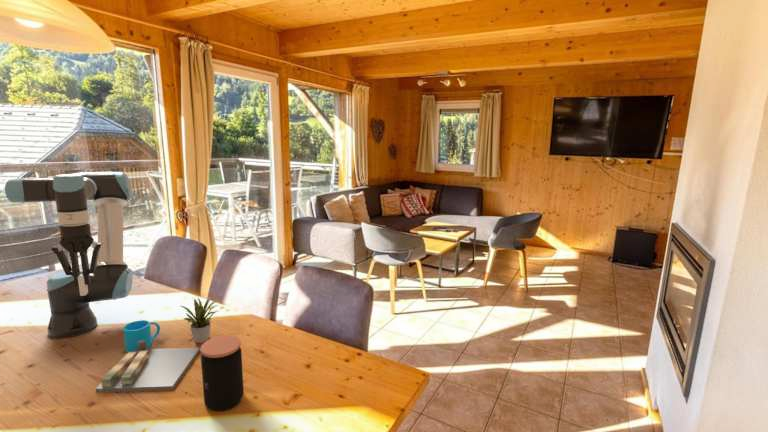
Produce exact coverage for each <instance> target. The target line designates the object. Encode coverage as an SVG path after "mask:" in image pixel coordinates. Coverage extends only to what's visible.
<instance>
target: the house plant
mask: <svg viewBox="0 0 768 432" xmlns="http://www.w3.org/2000/svg"><path fill="white" fill-rule="evenodd" d="M211 297H212V296H209V297H208V298H207V299H206V300H205V303H204V305H203V302H201V299H200V298H199V297H197V299H196V298H194V299H193V305H194V313H193V312H192V311H191V310H190V309H189V308H188V307H186V306H184V305H180V307H181V308H183V309H184V310H186V312H187V313H185V315H186V316H187V317H185V318H183V320H185V321H187V324H188V323H191V324H190V325H189V328H190V332H191V334H192V338H193V342H194V343H197V344H198V343H200V344H203V343H204V342H206V341H208V340H209V339H210V336H211V335H210V333H211V325H212V322H211V320H212V316H213V315H214V314H215V313H216V314H217V312H220V310H215V311H212V310H213V308H216V307H217V306H219V304H218V305H217V304H215V303H216V302H219V301H220V299H217V300H214V301H212V302H211V303H210V304H209V302H210V301H211V300H210V299H211ZM197 300H198V302H197ZM214 304H215V305H214ZM212 305H213V306H212ZM211 306H212V307H211ZM208 310H209V311H208ZM210 314H211V315H210ZM208 316H209V317H208Z"/></svg>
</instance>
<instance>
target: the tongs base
mask: <svg viewBox="0 0 768 432" xmlns="http://www.w3.org/2000/svg"><path fill="white" fill-rule="evenodd" d="M147 349H148V348H147ZM147 349H146V341H145V340H141V341H138V352H128V351H127V352H128V353H126V354H125V355H124V356H123V357H122V358H121V359H120V360H119V361H118V362H117V363H116V364H115V365H114V366H113V367H112V368H111V369H110V370H109V371H107V373H106V374H105V375H104V376H103V377H102V378H101V380H100V381H101V383H102V387H106V386H112V385H113V384H114V383H115V382H116V381H117V379H118V378H119V377H120V376H121V375H122V374H123V373H124V372H125V371H126V370H127V368H128V367H129V366H130V364H131V363H132V361H133V360H134V358H135V357H136V356H137V354H138V353H139V351H146V350H147ZM149 353H150V350H148V354H149Z"/></svg>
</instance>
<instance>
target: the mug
mask: <svg viewBox="0 0 768 432" xmlns="http://www.w3.org/2000/svg"><path fill="white" fill-rule="evenodd" d="M151 325H152V326H153V325H154V326H155V327H156V331H155V333H154V335H152V331H151ZM122 329H123V336H124V337H123V338H124V345H125V351H126V352H133V351H134V350H135V349H138V341H141V340H145V341H146V349H149V348H150V347H151V346H152V344H153V340H154V339H155V338H156V337H157V336H158V335H159V333H160V331H161V326H160V324H158V322H154V321H151V322H150V321H148V320H146V319H145V320H141V319H140V320H136V321H135V320H134V321H132V322H128V323H127V324H125V325H124V326H123V327H122Z"/></svg>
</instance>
